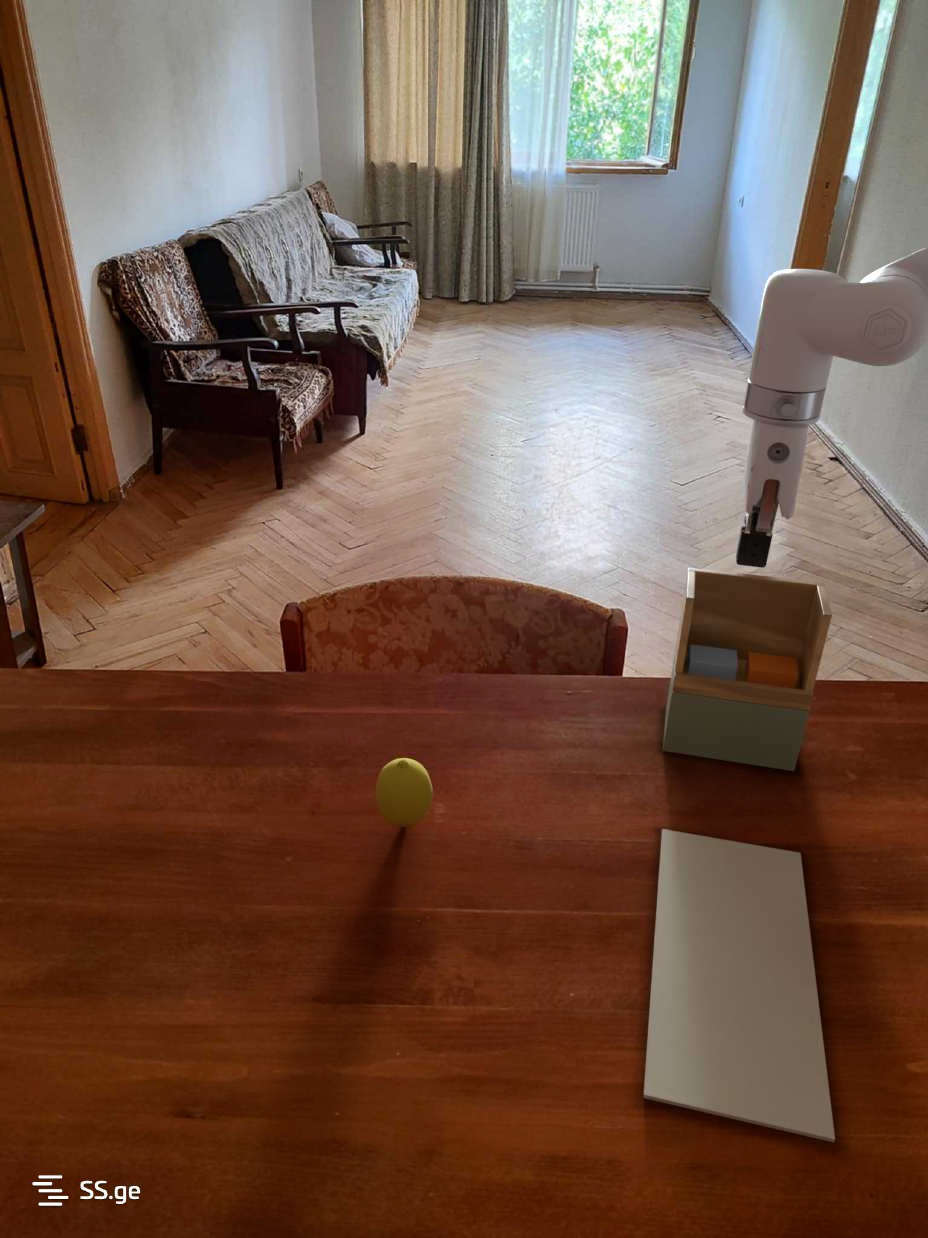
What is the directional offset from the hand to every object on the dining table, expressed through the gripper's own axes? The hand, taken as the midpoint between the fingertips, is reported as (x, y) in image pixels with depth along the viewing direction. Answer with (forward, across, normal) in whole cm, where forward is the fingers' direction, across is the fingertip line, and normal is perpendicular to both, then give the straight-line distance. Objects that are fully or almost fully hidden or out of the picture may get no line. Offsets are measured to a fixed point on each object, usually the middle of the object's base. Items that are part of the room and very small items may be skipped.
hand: (750, 562), depth 99 cm
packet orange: (+9, -9, -3) cm, 13 cm away
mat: (+18, -40, 0) cm, 44 cm away
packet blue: (+9, -9, +3) cm, 13 cm away
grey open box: (+18, -9, 0) cm, 20 cm away
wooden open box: (+10, -9, 0) cm, 13 cm away
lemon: (+18, -31, +31) cm, 48 cm away
